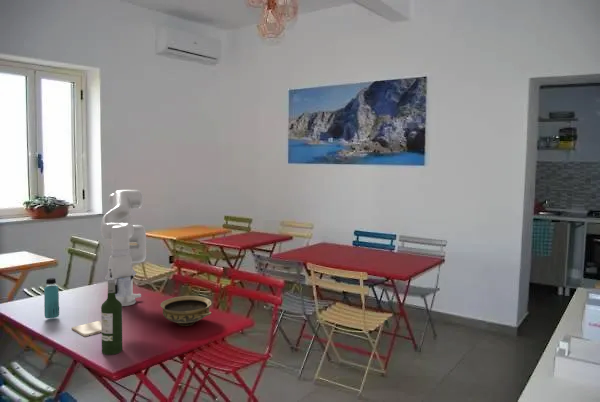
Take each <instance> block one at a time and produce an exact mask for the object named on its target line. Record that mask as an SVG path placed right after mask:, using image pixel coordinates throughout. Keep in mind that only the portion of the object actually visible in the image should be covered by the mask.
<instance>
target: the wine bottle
mask: <svg viewBox="0 0 600 402" xmlns="http://www.w3.org/2000/svg"><path fill="white" fill-rule="evenodd" d="M100 309H101V310H100V311H101V312H100V313H101V316H100V318H101V319H100V321H101V329H102V332H101V353H102V354H103V355H107V356H112V355H116V354H120V353H121V352H122V351H123V306H122V304H121V302H120V301H119V300H117V299H116V297H115V279H114V278H111V277H110V279H108V281H107V298H106V300H105V301H104V302H103V303H102V304H101V306H100Z"/></svg>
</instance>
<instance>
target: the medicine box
mask: <svg viewBox="0 0 600 402" xmlns="http://www.w3.org/2000/svg"><path fill="white" fill-rule="evenodd" d="M110 278H112V277H110ZM116 285H117V294H115V296H120V297H127V296H130V295H131V277H128V276H127V277H122V278H118V279H117V282H116Z"/></svg>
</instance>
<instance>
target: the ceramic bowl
mask: <svg viewBox="0 0 600 402" xmlns="http://www.w3.org/2000/svg"><path fill="white" fill-rule="evenodd" d="M159 305H160V307H161V308H162V315H163V317H164V318H165V319H166V320H168V321H170V322H173V323H177V325H178V326H181V327H182V326H185V327H187V326H192V325H194V324H195V323H196V322H198V321H200V320H202V319H204V318H205V317H206V316H207V317H208V316H211V315H212V312H211V311H210V306H211V305H212V301H211V299H209V298H207V297H204V296H198V295H183V296H175V297H171V298H168V299H165V300H163V301H161V303H160V304H159Z"/></svg>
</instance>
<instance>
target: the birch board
mask: <svg viewBox="0 0 600 402" xmlns="http://www.w3.org/2000/svg"><path fill="white" fill-rule="evenodd" d="M71 330H72V331H74V332H75V333H77V334H79V335H81V336H82V337H84V338H85V337H89V335H90V336H93V335H96V334H100V332H101V333H102V329H101V320H97V321H96V320H95V321H93V322H88V323H84V324H80V325H76V326H71Z"/></svg>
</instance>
